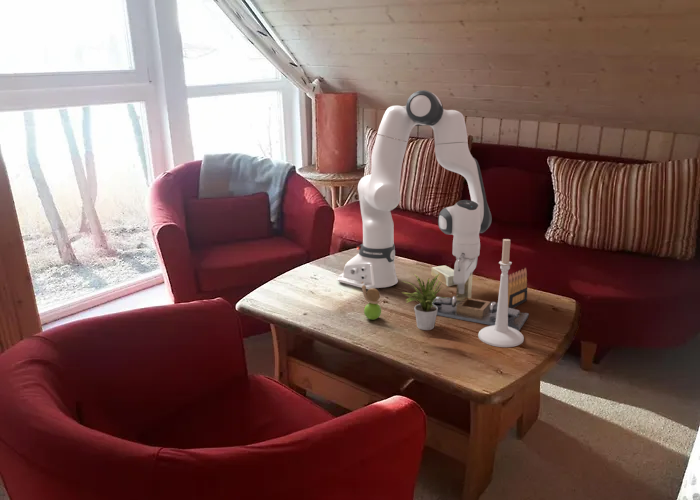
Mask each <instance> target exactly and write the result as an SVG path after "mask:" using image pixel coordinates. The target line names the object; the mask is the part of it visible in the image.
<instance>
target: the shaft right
mask: <svg viewBox="0 0 700 500" xmlns="http://www.w3.org/2000/svg"><path fill="white" fill-rule="evenodd" d="M497 306H498V302H496V301H491V304H490V307H489V312H490V313H495V312H497ZM520 312H521V311H520V310H519V309H516V308H513V309H512V308H508V322H510V321H512V320H513V319H514V317H515V318H518V317H519V314H520Z"/></svg>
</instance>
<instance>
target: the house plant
mask: <svg viewBox="0 0 700 500" xmlns="http://www.w3.org/2000/svg"><path fill="white" fill-rule="evenodd" d="M413 275H414V276H415V277H416V281H417V283H418V286H419V288H420V289H419V288H418V287H417V286H416V285H415V284H413V283H412V282H408V281H405V280H402V282H403V283H406V284H407V285H408V286H409V285H410V287H413V289H414V290H415V292H412V293H410V292H407V291H406V292H403V291H402V292H401V291H400V293H402V294H403V295H405V296H407V297H408V298H406V299H405V300H404V302H405V301H406V303H405V304H407V303H410V302H413V301H414V302H417V304H416V305H415V306H414V308H413V309H414V314H415V321H416V327H417V328H418V329H419V330H423V331H430V330H433V329H435V328H434V327H435V324H436V319H437V316H438V315H437V310H438V307H437V306H436V305H433V303H434V302H435V301H436V300H437V299H436V300H435V301H434V299H435V298H436V297H438V295H437V294H438V293H439V292H440V291H441V290H442V289H443V287H442V288H440V286H441V285H442V282H441V281H439V280H440V279H439V280H438V279H437V278H438V276H439V275H440V274H438V275H437V276H435V277H434V278H432V279H431V281H430V278H428V279H427V281H426V285H425V282H424V279H422V278H419V276H417V275H416V273H413ZM436 281H437V282H436ZM440 282H441V283H440ZM439 283H440V284H439ZM440 297H441V298H446V297H447V296H446V297H445V296H440ZM438 299H440V298H438ZM446 299H447V298H446ZM433 301H434V302H433Z"/></svg>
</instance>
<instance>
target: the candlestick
mask: <svg viewBox="0 0 700 500" xmlns="http://www.w3.org/2000/svg"><path fill="white" fill-rule="evenodd" d="M510 250H511V239H509V238H503V239H502V253H501V260H500V261H499V262H498V264H499V265H500V268H499V269H500V270H501V274H500V281H499V288H498V289H499V290H498V298H497V299H498V300H497V305H498V306H497V315H496V322H495V325H493V326H492V325H487V326H485V327H483V328H481V329H480V330H479V332H478V335H477V337H478V339H479V341H481V342H483V343H484V344H486V345H488V346H493V347H498V348H513V347H517V346H519V345H521V344H523V343H524V341H525V340H524V339H525V338H524V335H523V334H522V332H520V330H516V329H514V328H512V327H508V279H509V270H510V269H511V265H512V263H513V262H512V261H510V253H511V252H510Z"/></svg>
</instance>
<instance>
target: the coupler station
mask: <svg viewBox="0 0 700 500" xmlns="http://www.w3.org/2000/svg"><path fill="white" fill-rule="evenodd" d="M491 303H492V301H488V300H483V299H482V300H481V299H477V298H472V297H471V298H464V299H463V300H462V301H458V300H457V302H456V306H455V307H452V305H443V304H442V307H441V309H438V310H437V315H436V316H440V317H445V318H450V319H454V320H461V321H466V322H471V323H478V324H482V325H487V326H493V325H495V322H496V315H497V312H495V313H490V312H489V307H490V304H491ZM528 318H529V313H528V312H522V311H520V314H519V317H518V318H515V317H514V319H513V320H512V321H510V322H508V327H512V328H514V329H516V330H518V331H521V329H522V327H523V326H524V324H525V323H526V321H527V319H528Z"/></svg>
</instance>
